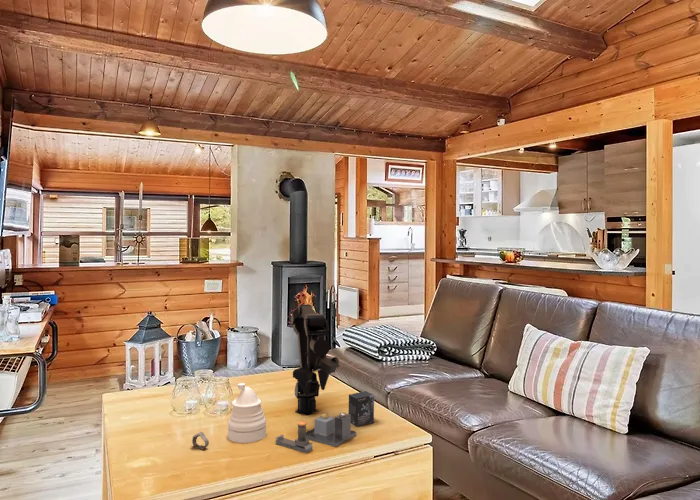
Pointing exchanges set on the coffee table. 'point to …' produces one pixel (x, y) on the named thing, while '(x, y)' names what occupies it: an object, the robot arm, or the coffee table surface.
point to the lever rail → (292, 444)
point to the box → (361, 408)
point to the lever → (301, 434)
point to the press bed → (327, 439)
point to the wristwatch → (202, 438)
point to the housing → (324, 424)
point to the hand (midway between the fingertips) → (315, 392)
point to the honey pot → (246, 417)
